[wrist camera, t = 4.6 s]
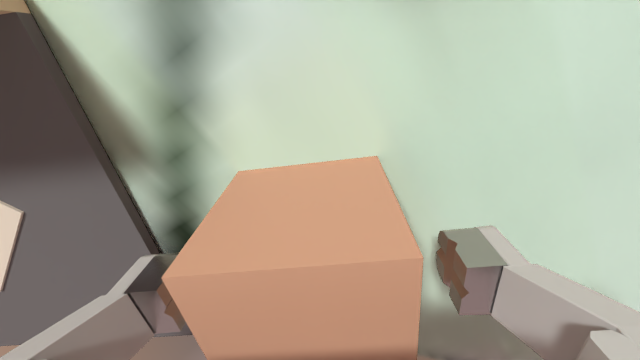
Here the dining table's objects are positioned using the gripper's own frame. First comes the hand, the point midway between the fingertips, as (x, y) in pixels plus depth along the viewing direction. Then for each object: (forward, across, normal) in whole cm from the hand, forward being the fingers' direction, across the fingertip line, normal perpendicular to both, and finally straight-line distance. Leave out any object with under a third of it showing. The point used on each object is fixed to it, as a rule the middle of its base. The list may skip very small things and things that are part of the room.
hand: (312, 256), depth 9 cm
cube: (+2, 0, 0) cm, 2 cm away
